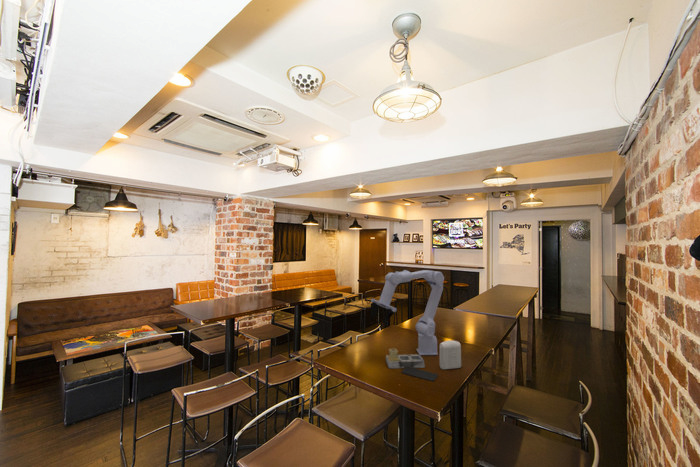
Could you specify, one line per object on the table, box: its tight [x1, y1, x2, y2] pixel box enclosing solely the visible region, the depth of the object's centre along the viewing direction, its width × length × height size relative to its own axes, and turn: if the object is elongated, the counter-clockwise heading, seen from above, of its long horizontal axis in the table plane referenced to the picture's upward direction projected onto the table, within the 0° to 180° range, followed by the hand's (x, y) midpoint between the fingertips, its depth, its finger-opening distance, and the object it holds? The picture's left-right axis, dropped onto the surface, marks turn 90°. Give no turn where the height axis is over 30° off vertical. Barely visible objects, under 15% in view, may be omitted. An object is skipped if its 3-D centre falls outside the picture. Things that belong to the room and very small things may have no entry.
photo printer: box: [438, 340, 462, 370], centre depth 132 cm, size 10×4×12 cm, turn 103°
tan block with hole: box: [386, 348, 400, 361], centre depth 136 cm, size 5×5×7 cm
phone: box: [401, 367, 439, 382], centre depth 126 cm, size 7×1×15 cm
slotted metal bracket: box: [385, 353, 425, 369], centre depth 136 cm, size 17×8×3 cm, turn 92°
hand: (377, 320), depth 141 cm, fingers open, 7 cm apart
